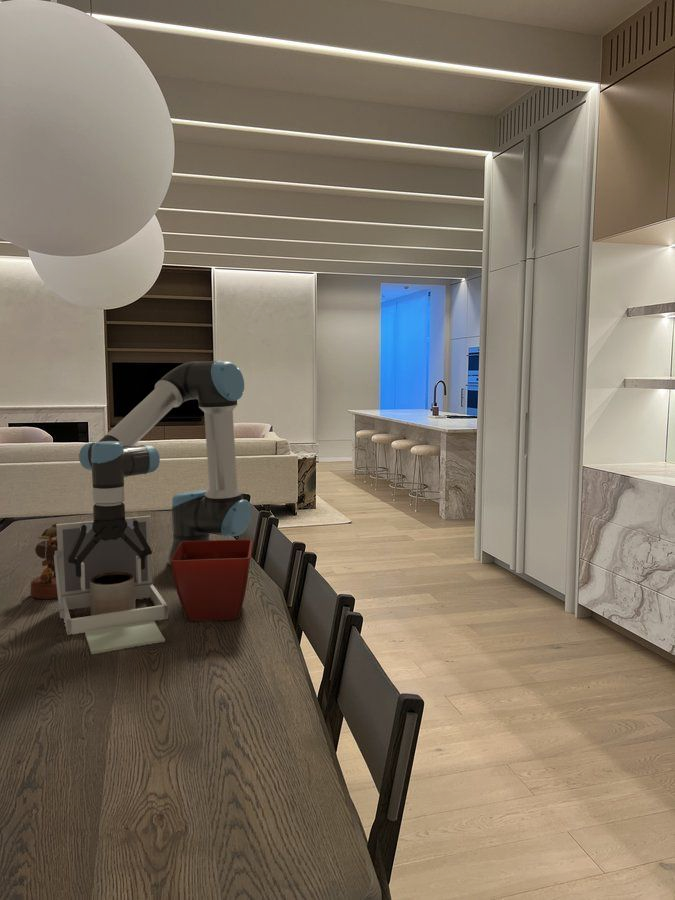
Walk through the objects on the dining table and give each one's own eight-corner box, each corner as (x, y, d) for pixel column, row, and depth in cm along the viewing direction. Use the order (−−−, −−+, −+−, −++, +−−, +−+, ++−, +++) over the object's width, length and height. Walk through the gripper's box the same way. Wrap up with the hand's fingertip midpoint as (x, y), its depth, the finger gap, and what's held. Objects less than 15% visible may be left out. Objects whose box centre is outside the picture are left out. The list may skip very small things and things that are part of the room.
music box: (69, 600, 184) (65, 528, 181) (25, 603, 181) (21, 530, 179) (77, 583, 198) (74, 516, 196) (37, 586, 196) (33, 518, 194)
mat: (153, 622, 168) (153, 620, 168) (164, 641, 156) (164, 639, 156) (84, 633, 161) (84, 631, 161) (91, 654, 149) (91, 651, 149)
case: (152, 595, 188) (149, 515, 185) (168, 618, 170) (165, 531, 168) (56, 608, 177) (51, 524, 175) (62, 635, 159) (57, 542, 157)
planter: (97, 607, 178) (95, 572, 177) (139, 606, 179) (138, 571, 178) (85, 623, 168) (83, 585, 167) (130, 621, 169) (129, 584, 167)
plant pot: (182, 601, 184) (180, 540, 182) (253, 598, 185) (252, 538, 183) (171, 627, 165) (169, 560, 163) (250, 625, 166) (249, 558, 164)
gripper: (156, 497, 179) (158, 575, 181) (54, 504, 168) (57, 587, 170) (162, 501, 172) (164, 583, 175) (56, 509, 161) (59, 596, 164)
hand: (111, 585), depth 172 cm, fingers open, 13 cm apart
